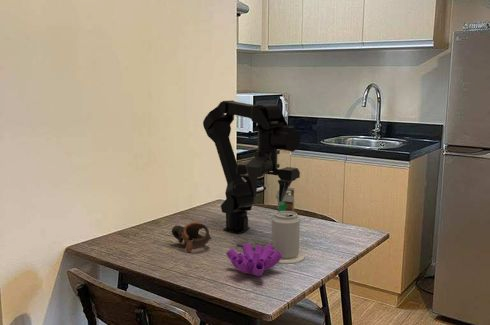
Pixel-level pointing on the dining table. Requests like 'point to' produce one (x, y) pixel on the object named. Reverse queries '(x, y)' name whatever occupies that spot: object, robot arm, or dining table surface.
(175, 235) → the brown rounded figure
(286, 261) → the disc
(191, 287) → the dining table surface
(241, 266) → the purple tube coral sculpture
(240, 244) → the thin grey rod
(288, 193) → the food container
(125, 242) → the dining table surface
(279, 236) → the can
